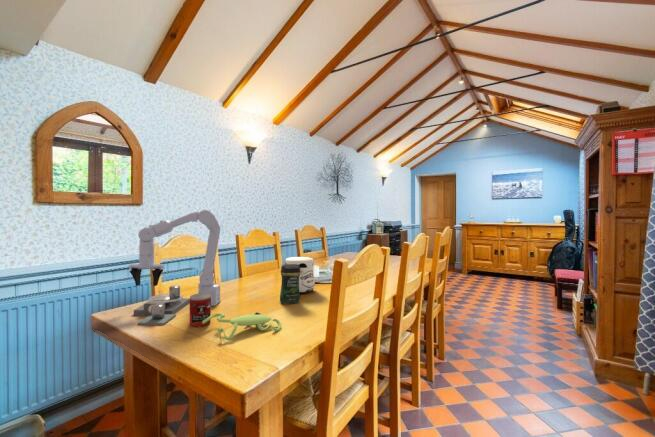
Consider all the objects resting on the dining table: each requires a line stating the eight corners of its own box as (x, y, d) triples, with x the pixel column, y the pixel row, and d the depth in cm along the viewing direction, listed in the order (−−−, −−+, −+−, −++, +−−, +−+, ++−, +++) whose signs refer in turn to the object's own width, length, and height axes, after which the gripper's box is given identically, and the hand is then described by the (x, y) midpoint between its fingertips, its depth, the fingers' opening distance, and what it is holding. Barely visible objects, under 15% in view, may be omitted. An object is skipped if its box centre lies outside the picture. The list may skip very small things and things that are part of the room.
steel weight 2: (181, 296, 143) (181, 285, 143) (177, 299, 139) (177, 288, 139) (172, 296, 143) (172, 285, 143) (167, 299, 139) (167, 287, 139)
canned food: (190, 328, 117) (190, 299, 117) (188, 321, 124) (188, 294, 124) (211, 325, 121) (212, 297, 120) (209, 319, 128) (209, 292, 127)
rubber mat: (176, 316, 130) (176, 314, 130) (163, 325, 120) (163, 323, 120) (151, 315, 130) (151, 314, 130) (137, 324, 120) (137, 322, 120)
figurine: (200, 328, 119) (200, 314, 118) (266, 316, 133) (266, 303, 133) (211, 347, 103) (211, 330, 103) (285, 331, 118) (285, 316, 117)
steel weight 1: (165, 315, 128) (165, 303, 128) (163, 319, 124) (163, 306, 124) (153, 316, 127) (153, 304, 127) (150, 320, 123) (150, 307, 123)
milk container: (313, 296, 164) (314, 261, 164) (280, 295, 165) (281, 261, 164) (315, 287, 182) (316, 256, 181) (285, 287, 182) (286, 256, 181)
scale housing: (190, 302, 149) (190, 292, 149) (172, 315, 131) (172, 304, 131) (156, 302, 149) (156, 292, 149) (133, 315, 130) (133, 304, 130)
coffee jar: (281, 305, 148) (282, 266, 147) (278, 300, 155) (278, 263, 154) (301, 303, 151) (302, 265, 150) (297, 299, 158) (297, 262, 158)
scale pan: (187, 294, 148) (187, 293, 148) (173, 303, 134) (173, 302, 134) (157, 294, 148) (157, 293, 148) (140, 303, 134) (140, 302, 134)
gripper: (124, 255, 134) (124, 287, 134) (158, 256, 134) (158, 287, 135) (134, 253, 141) (134, 283, 141) (166, 254, 141) (166, 284, 142)
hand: (146, 285), depth 138 cm, fingers open, 7 cm apart
